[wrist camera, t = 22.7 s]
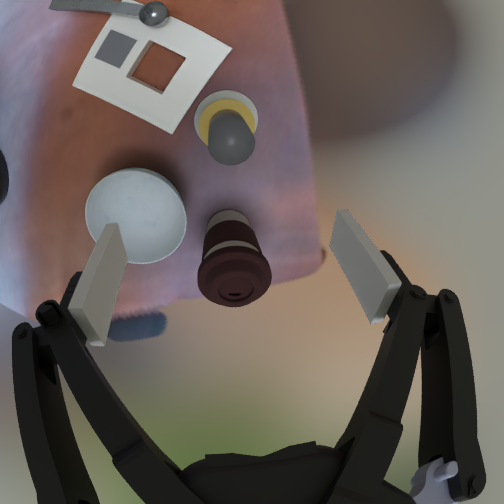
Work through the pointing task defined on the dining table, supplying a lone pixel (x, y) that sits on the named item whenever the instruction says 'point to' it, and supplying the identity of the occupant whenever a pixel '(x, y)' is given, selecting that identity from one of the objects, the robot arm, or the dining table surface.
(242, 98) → the mat
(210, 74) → the socket block
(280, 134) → the dining table surface
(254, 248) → the coffee cup
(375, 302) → the robot arm
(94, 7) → the grey lever handle
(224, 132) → the plug
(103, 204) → the chinaware
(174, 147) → the dining table surface
